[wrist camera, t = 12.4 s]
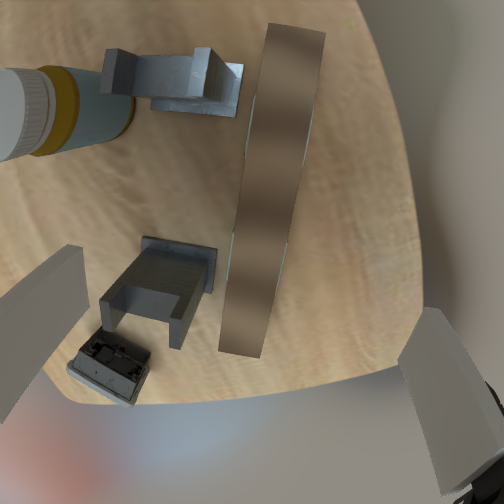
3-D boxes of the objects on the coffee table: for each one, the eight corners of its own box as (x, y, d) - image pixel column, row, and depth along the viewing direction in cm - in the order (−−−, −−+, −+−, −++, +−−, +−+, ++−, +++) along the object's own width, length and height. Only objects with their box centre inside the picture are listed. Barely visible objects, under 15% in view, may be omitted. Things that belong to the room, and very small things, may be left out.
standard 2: (160, 60, 24) (101, 36, 14) (244, 65, 24) (224, 33, 14) (153, 109, 26) (89, 109, 16) (235, 117, 26) (210, 114, 16)
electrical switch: (92, 338, 39) (62, 378, 30) (100, 313, 37) (67, 353, 28) (149, 371, 40) (128, 417, 31) (161, 347, 38) (139, 395, 30)
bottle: (149, 95, 25) (47, 85, 12) (114, 154, 28) (8, 189, 14) (101, 65, 24) (-7, 48, 10) (70, 121, 27) (-39, 140, 13)
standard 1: (143, 235, 31) (91, 287, 21) (217, 248, 31) (189, 310, 21) (143, 277, 33) (98, 336, 23) (212, 290, 33) (187, 360, 23)
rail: (270, 37, 21) (268, 22, 17) (318, 45, 21) (325, 33, 17) (224, 326, 32) (217, 351, 28) (261, 332, 32) (259, 358, 28)
